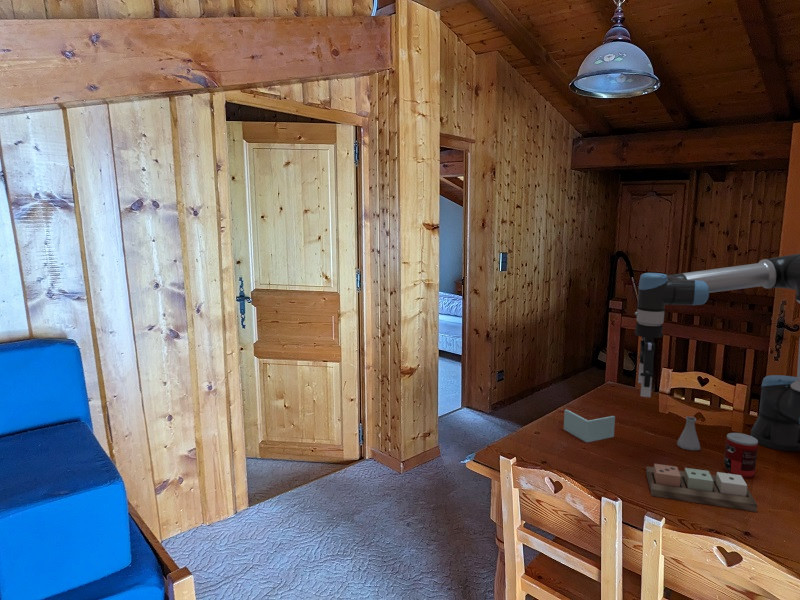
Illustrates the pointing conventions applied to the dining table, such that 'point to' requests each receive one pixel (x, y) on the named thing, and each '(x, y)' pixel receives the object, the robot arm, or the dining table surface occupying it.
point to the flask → (689, 436)
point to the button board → (700, 494)
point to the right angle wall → (589, 427)
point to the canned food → (740, 454)
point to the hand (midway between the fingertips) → (643, 389)
